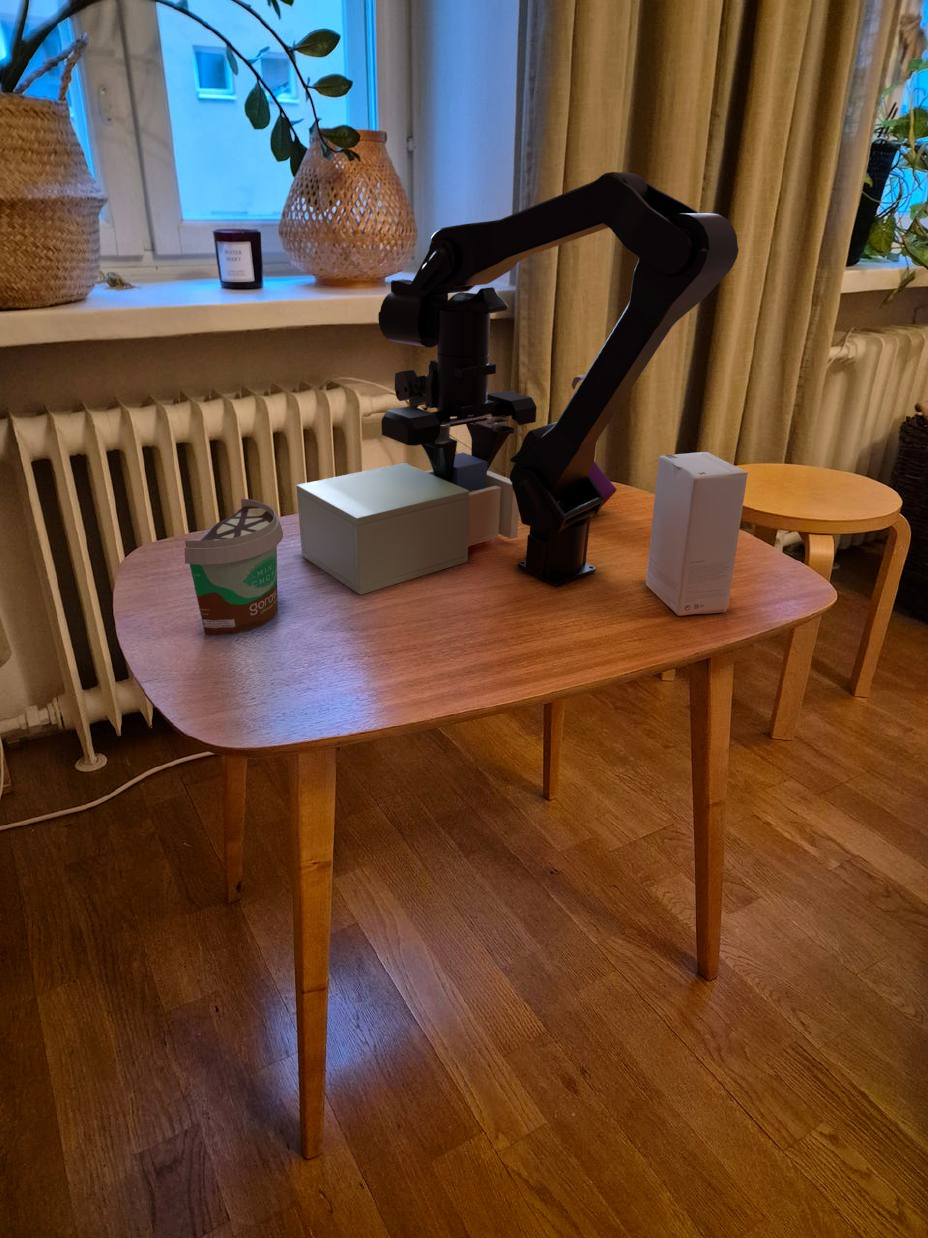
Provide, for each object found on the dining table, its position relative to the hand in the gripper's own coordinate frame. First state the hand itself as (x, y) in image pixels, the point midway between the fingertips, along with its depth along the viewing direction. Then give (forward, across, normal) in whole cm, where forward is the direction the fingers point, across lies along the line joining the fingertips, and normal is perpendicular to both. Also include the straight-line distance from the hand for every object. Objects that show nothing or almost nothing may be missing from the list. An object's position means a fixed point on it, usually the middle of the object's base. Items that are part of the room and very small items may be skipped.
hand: (460, 488), depth 95 cm
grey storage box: (+6, +11, 0) cm, 13 cm away
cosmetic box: (+7, -9, +27) cm, 29 cm away
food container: (+6, +29, +4) cm, 30 cm away
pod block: (+1, 0, 0) cm, 1 cm away
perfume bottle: (+7, -18, +2) cm, 20 cm away
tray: (+6, 0, 0) cm, 6 cm away
